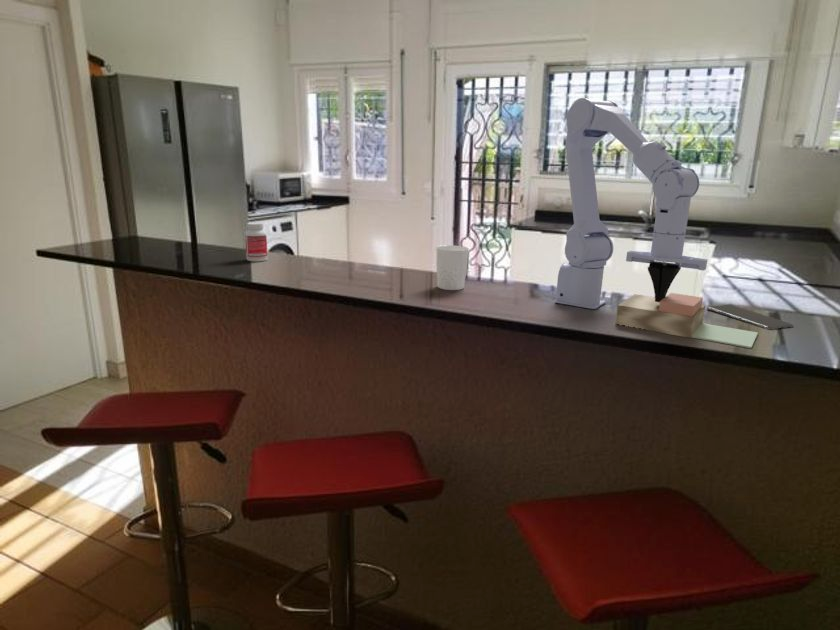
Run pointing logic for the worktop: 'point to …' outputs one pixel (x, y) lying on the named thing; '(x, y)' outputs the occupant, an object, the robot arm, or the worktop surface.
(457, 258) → the white cup
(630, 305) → the wooden block
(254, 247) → the pill bottle
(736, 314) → the smartphone
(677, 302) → the pink rubber eraser
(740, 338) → the mat
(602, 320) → the worktop surface
